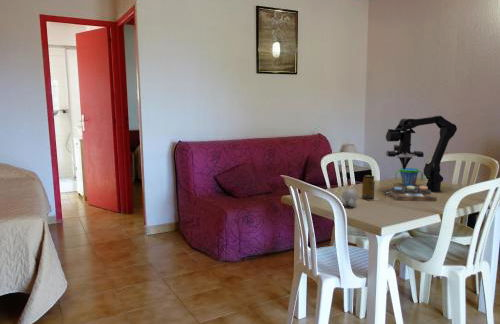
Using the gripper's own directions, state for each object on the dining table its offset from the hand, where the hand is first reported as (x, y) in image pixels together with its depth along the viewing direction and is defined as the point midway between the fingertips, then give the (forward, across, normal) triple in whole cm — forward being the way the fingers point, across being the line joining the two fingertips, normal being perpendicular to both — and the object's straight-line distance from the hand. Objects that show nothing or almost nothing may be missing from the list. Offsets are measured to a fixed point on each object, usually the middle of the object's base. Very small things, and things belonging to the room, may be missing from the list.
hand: (403, 169), depth 221 cm
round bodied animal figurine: (+13, +34, +35) cm, 50 cm away
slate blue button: (+10, +6, +11) cm, 16 cm away
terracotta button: (+9, -7, +11) cm, 16 cm away
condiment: (+13, +22, +18) cm, 31 cm away
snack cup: (+13, -9, -20) cm, 26 cm away
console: (+13, -1, +14) cm, 19 cm away
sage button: (+9, -1, +11) cm, 15 cm away
